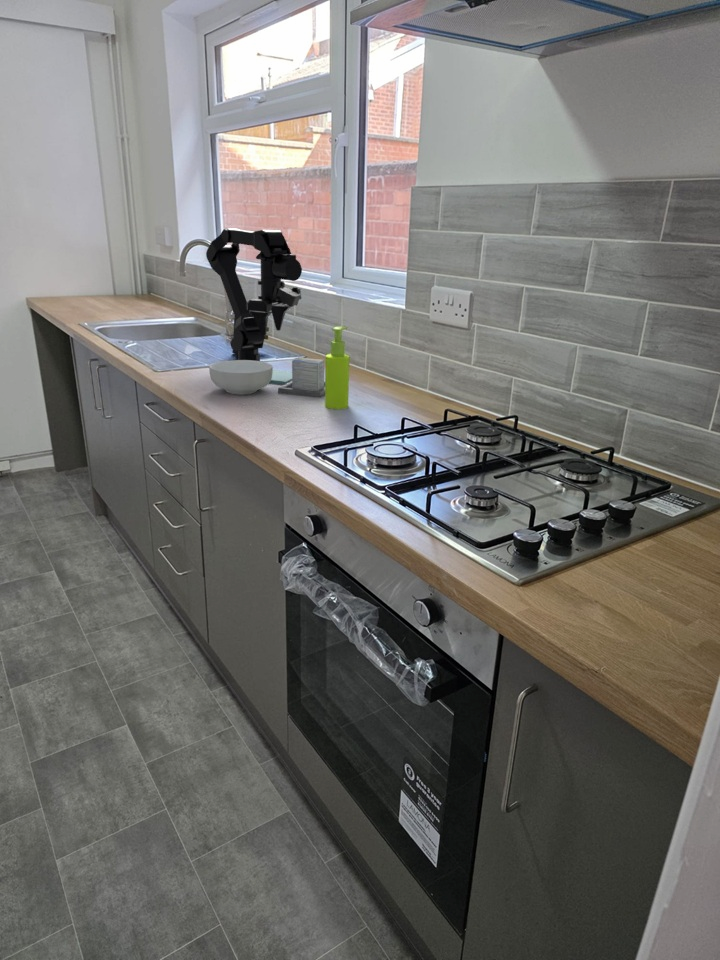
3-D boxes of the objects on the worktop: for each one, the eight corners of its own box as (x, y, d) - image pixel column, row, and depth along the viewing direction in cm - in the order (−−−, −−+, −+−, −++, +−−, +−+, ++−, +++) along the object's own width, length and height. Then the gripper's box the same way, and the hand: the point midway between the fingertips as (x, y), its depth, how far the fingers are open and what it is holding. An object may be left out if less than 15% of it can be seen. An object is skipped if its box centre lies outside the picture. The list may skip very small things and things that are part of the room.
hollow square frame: (278, 393, 176) (278, 387, 175) (296, 383, 186) (296, 378, 186) (320, 398, 172) (320, 392, 172) (336, 388, 183) (336, 382, 182)
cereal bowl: (285, 392, 177) (285, 366, 175) (236, 402, 166) (235, 375, 163) (247, 380, 188) (246, 356, 185) (198, 390, 176) (196, 364, 174)
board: (248, 380, 188) (247, 377, 187) (266, 372, 198) (266, 368, 198) (285, 385, 184) (285, 381, 184) (302, 376, 195) (302, 373, 194)
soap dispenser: (352, 404, 168) (355, 326, 160) (343, 411, 162) (345, 330, 154) (331, 402, 169) (332, 324, 162) (321, 408, 163) (322, 328, 156)
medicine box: (324, 390, 180) (324, 359, 177) (318, 394, 176) (318, 362, 173) (298, 387, 182) (298, 356, 179) (291, 391, 179) (291, 359, 175)
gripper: (282, 282, 174) (282, 340, 180) (310, 276, 190) (309, 330, 196) (245, 279, 177) (246, 336, 183) (275, 274, 193) (276, 327, 200)
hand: (271, 332), depth 190 cm, fingers open, 9 cm apart
